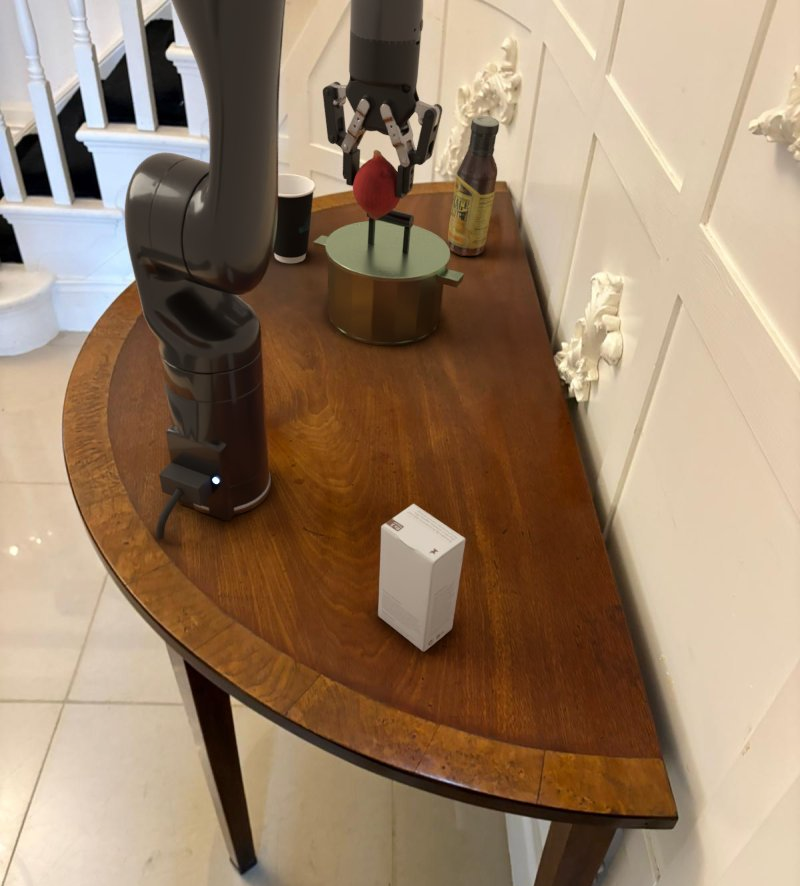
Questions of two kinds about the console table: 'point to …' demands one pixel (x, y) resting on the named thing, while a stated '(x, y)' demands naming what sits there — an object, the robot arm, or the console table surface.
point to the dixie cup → (293, 217)
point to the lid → (388, 249)
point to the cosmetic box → (419, 576)
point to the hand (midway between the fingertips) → (377, 189)
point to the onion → (376, 186)
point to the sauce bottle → (474, 190)
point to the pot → (385, 305)
